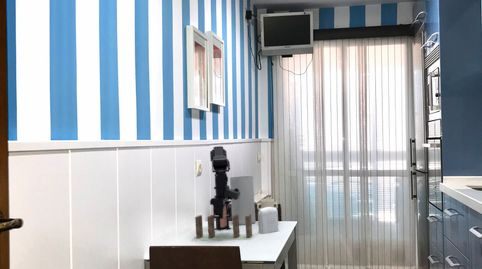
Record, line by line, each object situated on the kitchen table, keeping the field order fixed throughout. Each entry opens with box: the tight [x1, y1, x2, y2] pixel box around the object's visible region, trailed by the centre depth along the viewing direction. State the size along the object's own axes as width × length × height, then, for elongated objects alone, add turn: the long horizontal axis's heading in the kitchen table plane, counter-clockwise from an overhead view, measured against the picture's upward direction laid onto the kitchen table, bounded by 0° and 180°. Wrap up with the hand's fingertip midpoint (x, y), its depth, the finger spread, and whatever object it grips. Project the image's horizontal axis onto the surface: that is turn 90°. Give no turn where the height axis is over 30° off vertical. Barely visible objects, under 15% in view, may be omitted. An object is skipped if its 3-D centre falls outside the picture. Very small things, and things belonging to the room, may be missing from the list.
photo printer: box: [257, 206, 279, 235], centre depth 243 cm, size 10×4×12 cm, turn 123°
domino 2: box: [207, 214, 216, 238], centre depth 237 cm, size 2×5×10 cm, turn 166°
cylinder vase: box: [229, 175, 256, 226], centre depth 275 cm, size 12×12×25 cm
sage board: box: [191, 233, 257, 241], centre depth 235 cm, size 28×13×1 cm, turn 76°
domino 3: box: [231, 215, 241, 238], centre depth 234 cm, size 2×5×10 cm, turn 165°
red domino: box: [220, 205, 227, 227], centre depth 235 cm, size 2×5×10 cm, turn 166°
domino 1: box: [194, 214, 204, 239], centre depth 238 cm, size 2×5×10 cm, turn 166°
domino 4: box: [245, 214, 253, 238], centre depth 232 cm, size 2×5×10 cm, turn 166°
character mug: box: [256, 198, 279, 211], centre depth 267 cm, size 11×7×13 cm, turn 95°
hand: (223, 217), depth 235 cm, fingers closed on red domino, 5 cm apart
